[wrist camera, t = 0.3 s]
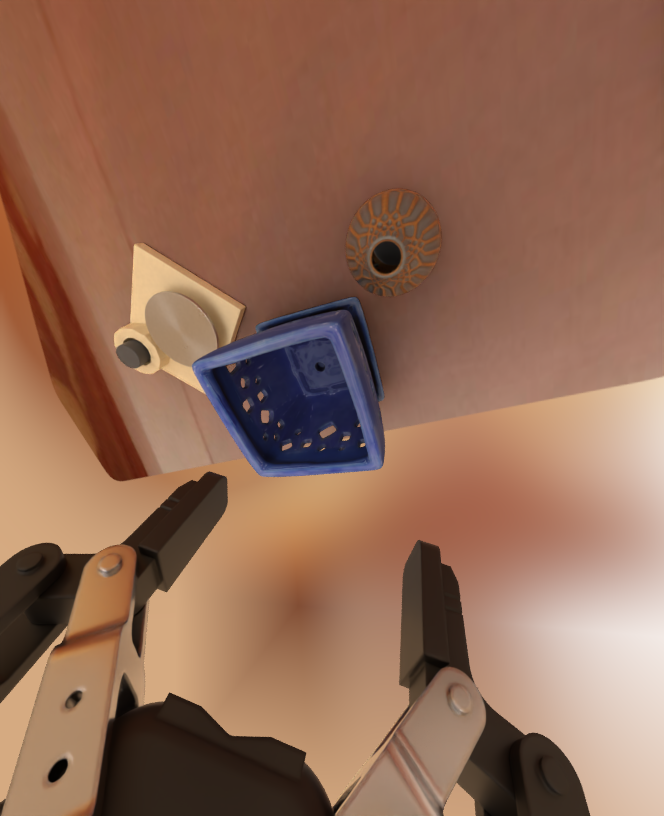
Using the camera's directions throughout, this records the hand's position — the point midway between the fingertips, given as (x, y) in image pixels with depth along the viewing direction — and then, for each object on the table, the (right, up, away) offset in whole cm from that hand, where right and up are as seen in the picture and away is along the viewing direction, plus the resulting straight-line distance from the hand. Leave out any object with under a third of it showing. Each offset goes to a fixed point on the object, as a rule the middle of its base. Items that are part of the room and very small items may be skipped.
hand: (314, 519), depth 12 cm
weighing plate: (-15, +13, +20) cm, 28 cm away
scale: (-17, +14, +23) cm, 32 cm away
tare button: (-23, +11, +23) cm, 34 cm away
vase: (+6, +19, +13) cm, 24 cm away
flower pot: (0, +11, +21) cm, 23 cm away
